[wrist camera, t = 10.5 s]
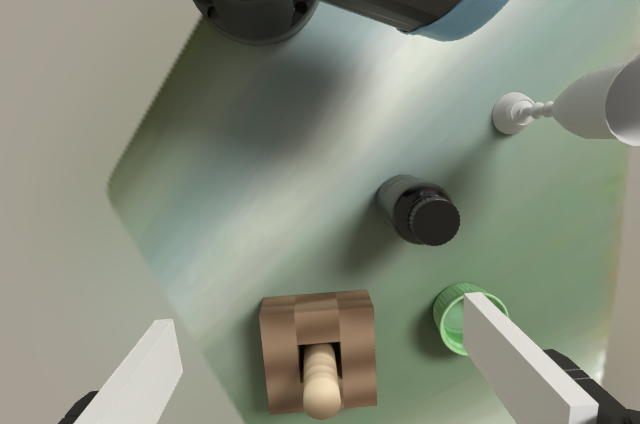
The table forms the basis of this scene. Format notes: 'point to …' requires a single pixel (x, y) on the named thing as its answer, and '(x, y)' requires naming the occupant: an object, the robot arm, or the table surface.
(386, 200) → the supplement bottle
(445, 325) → the ramekin
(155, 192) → the table surface
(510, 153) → the table surface
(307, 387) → the peg
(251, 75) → the table surface
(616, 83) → the chalice
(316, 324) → the socket block
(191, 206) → the table surface
